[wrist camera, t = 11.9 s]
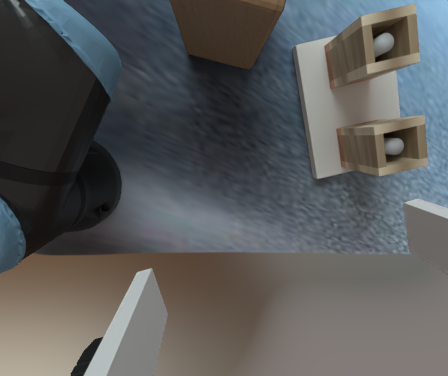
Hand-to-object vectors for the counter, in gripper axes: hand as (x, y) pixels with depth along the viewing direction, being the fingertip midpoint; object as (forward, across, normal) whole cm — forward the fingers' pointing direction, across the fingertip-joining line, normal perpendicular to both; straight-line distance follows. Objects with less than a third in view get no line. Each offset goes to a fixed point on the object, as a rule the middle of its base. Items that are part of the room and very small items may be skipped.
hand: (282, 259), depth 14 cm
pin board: (+31, +20, +6) cm, 37 cm away
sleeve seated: (+29, +20, +12) cm, 37 cm away
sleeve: (+29, +20, 0) cm, 35 cm away
